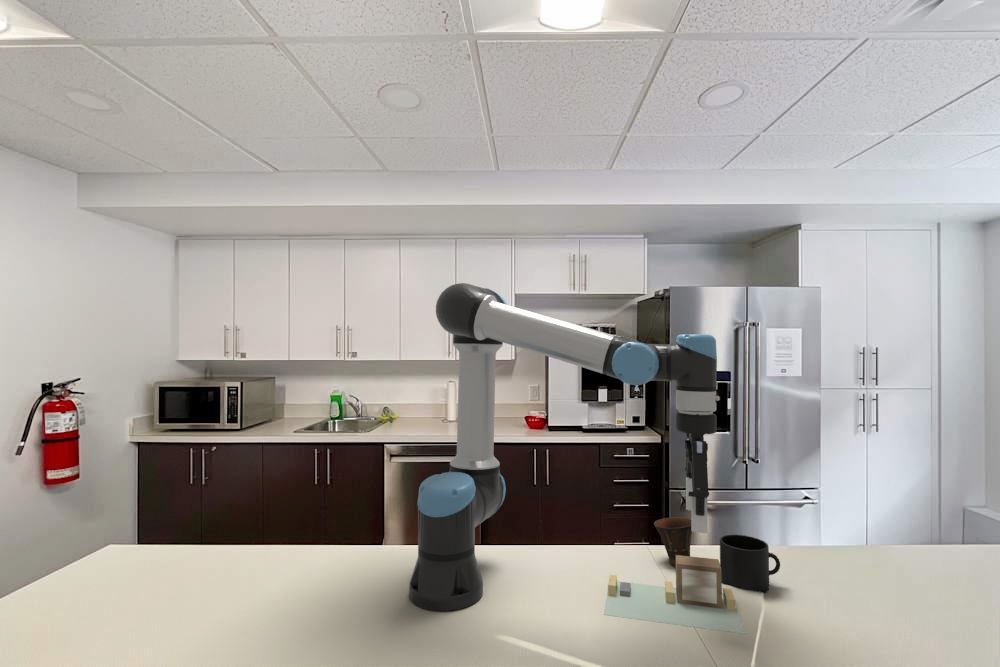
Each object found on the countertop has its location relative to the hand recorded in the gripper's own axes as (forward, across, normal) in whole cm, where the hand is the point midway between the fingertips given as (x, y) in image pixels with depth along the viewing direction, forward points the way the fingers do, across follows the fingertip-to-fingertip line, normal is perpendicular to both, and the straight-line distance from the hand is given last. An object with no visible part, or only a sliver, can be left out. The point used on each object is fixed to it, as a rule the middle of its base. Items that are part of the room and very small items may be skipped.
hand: (695, 520), depth 102 cm
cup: (+17, +20, +3) cm, 27 cm away
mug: (+16, +12, -12) cm, 24 cm away
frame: (+15, 0, 0) cm, 15 cm away
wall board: (+16, -3, +5) cm, 17 cm away
